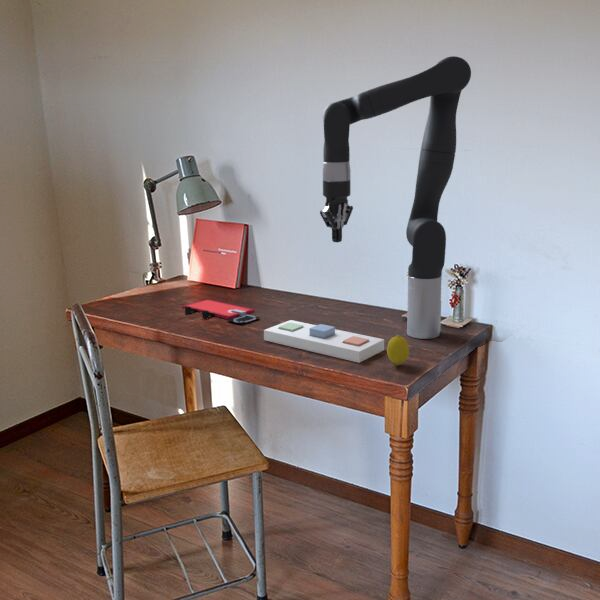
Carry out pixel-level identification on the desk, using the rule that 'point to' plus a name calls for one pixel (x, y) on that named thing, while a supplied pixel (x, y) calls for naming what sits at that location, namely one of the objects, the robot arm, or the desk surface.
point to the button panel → (325, 342)
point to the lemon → (398, 350)
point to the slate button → (322, 331)
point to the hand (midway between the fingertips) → (336, 241)
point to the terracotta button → (356, 341)
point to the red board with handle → (221, 310)
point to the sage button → (291, 327)
